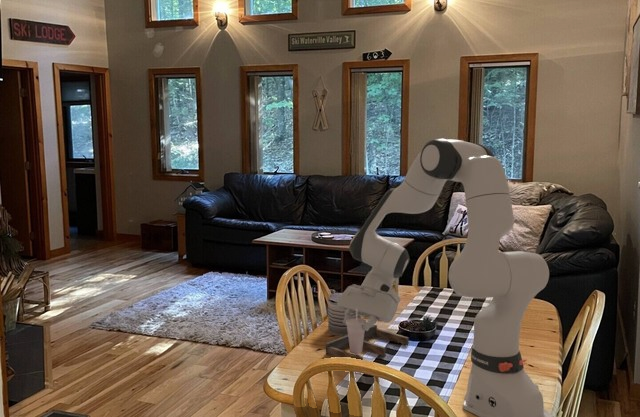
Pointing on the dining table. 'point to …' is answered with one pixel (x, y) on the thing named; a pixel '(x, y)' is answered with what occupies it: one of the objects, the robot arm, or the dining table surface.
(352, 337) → the smoothie
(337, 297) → the can
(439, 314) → the dining table surface
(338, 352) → the lane rack
